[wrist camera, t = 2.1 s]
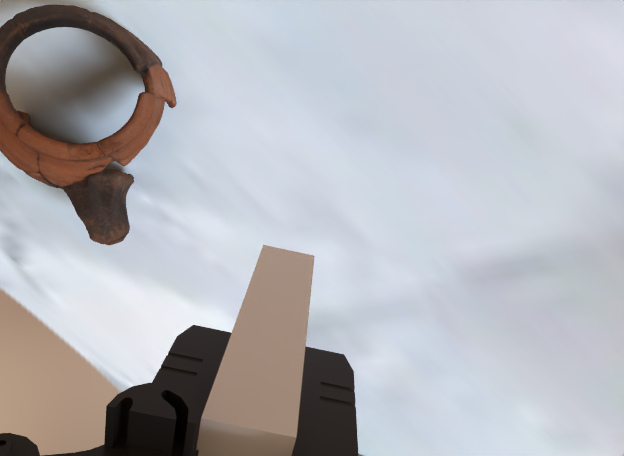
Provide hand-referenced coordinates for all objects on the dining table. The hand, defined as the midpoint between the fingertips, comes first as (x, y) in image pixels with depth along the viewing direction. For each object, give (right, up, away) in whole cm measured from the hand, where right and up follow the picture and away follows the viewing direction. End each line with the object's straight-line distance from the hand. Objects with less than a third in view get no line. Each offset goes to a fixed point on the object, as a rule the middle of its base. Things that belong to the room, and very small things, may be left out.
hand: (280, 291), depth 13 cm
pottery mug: (-11, +8, +14) cm, 20 cm away
